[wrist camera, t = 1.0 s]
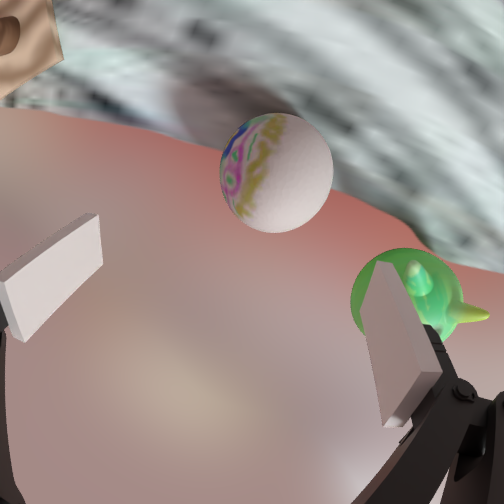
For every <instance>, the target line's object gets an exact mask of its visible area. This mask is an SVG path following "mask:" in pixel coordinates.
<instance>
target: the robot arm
mask: <svg viewBox="0 0 504 504" xmlns="http://www.w3.org/2000/svg"><path fill="white" fill-rule="evenodd" d="M101 265H103V258H102V249H101V238H100V227H99V215H98V214H92V213H85V214H84V215H82V216H81V217H79V218H77V219H76V220H74V221H73V222H71V223H69V224H68V225H66V226H65V227H63V228H62V229H60V230H59V231H57V232H56V233H54V234H52V235H51V236H49V237H48V238H47V239H45V240H44V241H42V242H41V243H39V244H38V245H36V246H35V247H33V248H32V249H30V250H29V251H28V252H26V253H25V254H24V255H22V256H20V257H19V258H18V259H17V260H15V261H14V262H12V263H11V264H9V265H8V266H7V267H5V268H4V269H3V270H1V271H0V504H26V503H25V501H24V499H23V496H22V495H21V493H20V491H19V490H18V488H17V486H16V484H15V481H14V477H13V472H12V466H11V459H10V452H9V445H8V435H7V424H6V409H5V351H6V333H5V331H4V329H5V328H6V327H7V326H8V325H9V328H10V330H11V333H12V335H13V337H14V338H16V339H19V340H20V341H22V342H24V343H25V342H26V341H27V340H28V339H29V338H30V337H31V336H32V335H33V334H34V333H35V332H36V330H37V329H38V328H39V327H40V326H41V325H42V324H43V323H44V322H45V321H46V320H47V319H48V318H49V317H50V315H51V314H53V312H55V311H56V309H57V308H58V307H59V306H60V305H61V304H62V303H63V302H64V301H65V300H66V299H67V298H68V297H69V296H70V295H71V294H72V293H73V292H74V291H75V290H76V289H77V288H78V287H79V286H80V285H82V284H83V283H84V282H85V281H86V280H87V279H88V278H89V277H90V276H91V275H92V274H93V273H94V272H95V271H96V270H97V269H98V268H99V267H100V266H101ZM360 315H361V319H362V323H363V328H364V332H365V336H366V341H367V345H368V350H369V354H370V359H371V364H372V369H373V374H374V379H375V384H376V390H377V395H378V401H379V407H380V413H381V419H382V425H383V427H403V426H404V424H405V423H406V422H407V421H408V420H409V418H410V417H411V419H412V423H413V427H412V428H411V429H410V430H409V431H408V433H407V434H406V435H405V436H404V437H403V438H402V439H401V441H400V442H399V443H400V444H399V446H398V447H397V448H396V450H395V451H394V453H393V454H392V455H391V456H390V458H389V459H388V460H387V462H386V463H385V464H384V466H383V467H382V468H381V469H380V471H379V472H378V473H377V474H376V476H375V477H374V478H373V479H372V480H371V482H370V483H369V484H368V485H367V486H366V488H365V489H364V490H363V491H362V492H361V493H360V494H359V496H358V497H357V498H356V499H355V500H354V501H353V502H352V503H351V504H429V503H430V501H431V500H432V498H433V496H434V495H435V493H436V491H437V489H438V488H439V486H440V484H441V482H442V481H443V479H444V477H445V475H446V473H447V471H448V469H449V473H448V477H447V481H446V484H445V488H444V492H443V495H442V499H441V502H440V504H504V391H503V392H500V393H499V394H498V395H497V396H496V398H495V399H494V400H493V401H492V400H488V399H484V398H480V397H478V395H477V392H476V390H475V389H474V387H473V386H472V385H471V384H470V383H469V382H467V381H466V380H463V379H461V378H458V376H457V374H456V372H455V369H454V367H453V365H452V363H451V360H450V358H449V356H448V354H447V353H446V349H445V347H444V345H442V344H443V343H442V340H441V338H440V336H439V334H438V333H437V332H436V331H435V330H434V329H433V327H432V326H431V325H428V324H422V322H421V320H420V318H419V316H418V314H417V311H416V309H415V307H414V305H413V303H412V301H411V299H410V297H409V295H408V293H407V291H406V289H405V287H404V285H403V283H402V281H401V279H400V277H399V275H398V273H397V271H396V269H395V267H394V266H393V264H392V263H388V262H383V261H377V262H376V265H375V268H374V271H373V274H372V277H371V280H370V283H369V286H368V289H367V292H366V294H365V297H364V300H363V303H362V306H361V308H360ZM449 467H450V468H449Z"/></svg>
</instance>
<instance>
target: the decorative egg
mask: <svg viewBox="0 0 504 504" xmlns="http://www.w3.org/2000/svg"><path fill="white" fill-rule="evenodd" d="M332 180H333V161H332V156H331V152H330V149H329V147H328V145H327V143H326V141H325V139H324V138H323V136H322V135H321V134H320V133H319V131H318V130H317V129H316V128H315V127H314V126H312V125H311V124H310V123H308V122H307V121H305V120H304V119H302V118H299V117H297V116H294V115H290V114H285V113H269V114H264V115H260V116H258V117H255V118H253V119H251V120H249V121H247V122H246V123H245V124H243V125H242V126H241V127H239V128H238V130H237V131H236V132H235V133H234V134H233V135H232V137H231V138H230V139H229V141H228V143H227V144H226V147H225V149H224V151H223V154H222V158H221V164H220V184H221V189H222V193H223V196H224V198H225V201H226V203H227V204H228V206H229V208H230V209H231V210H232V212H233V213H234V214H235V215H236V216H237V217H238V218H239V219H240V220H241V221H242V222H243V223H245V224H246V225H248V226H250V227H252V228H254V229H257V230H259V231H263V232H270V233H278V232H285V231H289V230H293V229H295V228H297V227H299V226H301V225H303V224H304V223H306V222H307V221H309V220H310V219H311V218H312V217H313V216H314V215H315V214H316V213H317V212H318V211H319V210H320V208H321V207H322V205H323V204H324V202H325V201H326V199H327V197H328V194H329V192H330V188H331V185H332Z"/></svg>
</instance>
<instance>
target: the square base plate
mask: <svg viewBox="0 0 504 504" xmlns="http://www.w3.org/2000/svg"><path fill="white" fill-rule="evenodd" d="M62 60H64V58H63V53H62V49H61V45H60V40H59V36H58V31H57V26H56V21H55V16H54V10H53V4H52V0H0V100H1V99H3V98H4V97H5V96H7V95H8V94H10V93H11V92H12V91H14V90H15V89H17V88H18V87H20V86H21V85H23V84H24V83H26V82H27V81H29V80H30V79H32V78H34V77H35V76H37V75H38V74H40V73H42V72H43V71H45V70H47V69H48V68H50V67H52V66H53V65H55V64H57V63H59V62H61V61H62Z"/></svg>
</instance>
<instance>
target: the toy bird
mask: <svg viewBox="0 0 504 504" xmlns="http://www.w3.org/2000/svg"><path fill="white" fill-rule="evenodd" d="M377 261H383V262H388V263H392V264H393V266H394V267H395V269H396V271H397V273H398V275H399V277H400V279H401V281H402V283H403V285H404V287H405V289H406V291H407V293H408V295H409V297H410V299H411V301H412V303H413V305H414V307H415V309H416V311H417V314H418V316H419V318H420V320H421V322H422V324H428V325H431V326H432V327H433V329H434V330H435V331H436V332H437V333H438V334H439V336H440V338H441V340H442V342H443V341H444V340H445V339H446V338H447V337H448V336H449V335H450V334H451V333H452V332H453V330H454V329H455V327H456V326H457V324H458V323H465V322H473V321H480V320H485V319H487V318H488V317H489V316H490V314H489V313H488V311H486V310H484V309H481V308H479V307H476V306H473V305H469V304H466V303H463V293H462V289H461V286H460V283H459V281H458V279H457V277H456V276H455V274H454V273H453V271H452V270H451V269H450V268H449V267H448V266H447V265H446V264H445V263H444V262H443V261H441V260H440V259H439V258H437V257H435V256H433V255H432V254H430V253H427V252H425V251H421V250H417V249H412V248H398V249H393V250H389V251H386V252H384V253H382V254H380V255H378V256H376V257H375V258H373V259H372V260H371V261H370V262H369V263H367V265H366V266H365V267H364V268H363V269H362V271H361V272H360V273H359V275H358V276H357V278H356V281H355V283H354V285H353V288H352V293H351V312H352V316H353V318H354V321H355V323H356V325H357V327H358V328H359V329H360V331H361V332H362V333H363V334H364V335H365V332H364V328H363V323H362V319H361V315H360V308H361V306H362V303H363V300H364V297H365V294H366V292H367V289H368V286H369V283H370V280H371V277H372V274H373V271H374V268H375V265H376V262H377Z"/></svg>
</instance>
